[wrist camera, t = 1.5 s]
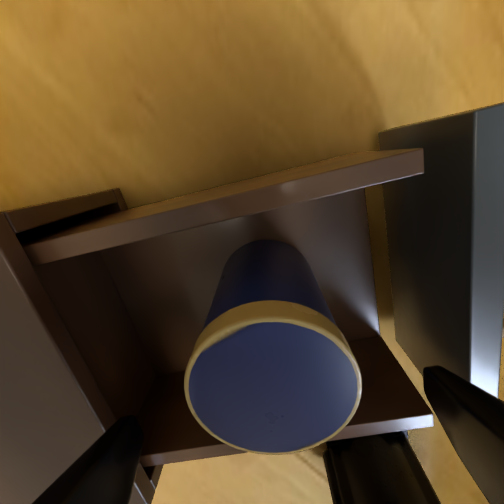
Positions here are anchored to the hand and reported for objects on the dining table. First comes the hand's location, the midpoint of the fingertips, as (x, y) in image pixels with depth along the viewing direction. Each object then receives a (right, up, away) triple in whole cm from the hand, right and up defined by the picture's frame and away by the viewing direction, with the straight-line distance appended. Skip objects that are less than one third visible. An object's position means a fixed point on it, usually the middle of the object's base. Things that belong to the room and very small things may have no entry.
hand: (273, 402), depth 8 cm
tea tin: (0, +3, +8) cm, 8 cm away
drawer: (+2, +4, +9) cm, 9 cm away
